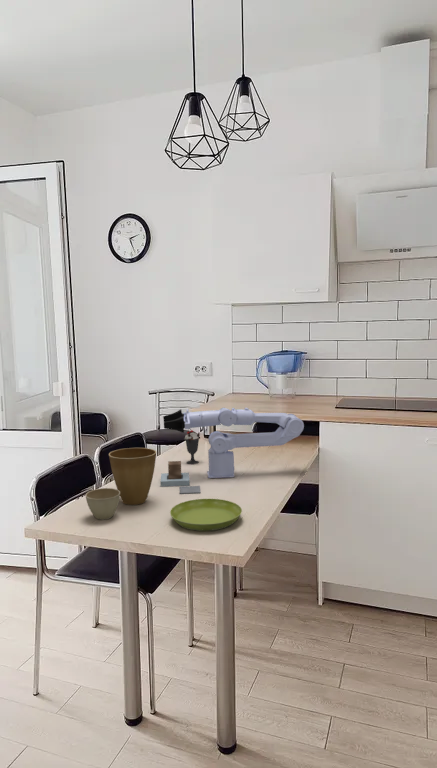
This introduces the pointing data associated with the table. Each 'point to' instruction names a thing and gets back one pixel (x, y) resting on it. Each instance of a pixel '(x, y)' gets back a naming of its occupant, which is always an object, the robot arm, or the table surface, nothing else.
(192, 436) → the sundae
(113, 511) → the flower pot
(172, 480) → the pocket holder
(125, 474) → the plant pot
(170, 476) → the walnut block
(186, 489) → the plate
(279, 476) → the table surface
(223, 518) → the saucer
